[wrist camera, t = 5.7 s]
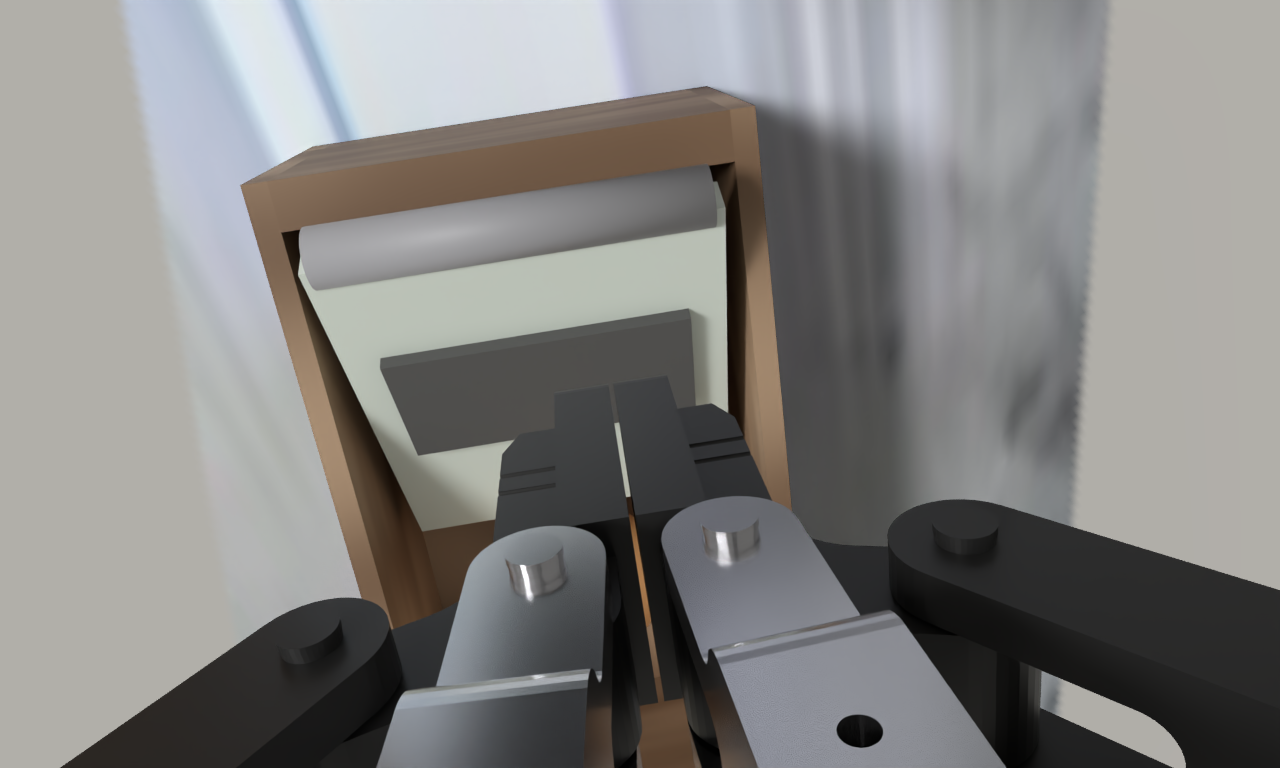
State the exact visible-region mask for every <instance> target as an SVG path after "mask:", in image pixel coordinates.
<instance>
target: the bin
mask: <svg viewBox="0 0 1280 768" xmlns="http://www.w3.org/2000/svg"><path fill="white" fill-rule="evenodd" d="M701 164H708V166H709V168H710V171H711V175H712V179H713V182H716V181H717V183H718V186H719V189H720V192H721V195H722V198H723V201H724V204H725V208H726V292H727V376H728V413H729V414H731V415H732V416H734V417H735V419H736V421H737V423H738V425H739V428H740V430H741V432H742V434H743V438H744V439H745V441H746V443H747V445H748V448H749V450H750V454H751V455H752V457H753V459H754V461H755V463H756V465H757V468H758V470H759V472H760V474H761V477H762V479H763V481H764V483H765V486H766V488H767V490H768V492H769V494H770V497H771V499H772V501H774V502H777V503H779V504H781V505H783V506H785V507H787V508H788V509H789V510H791V511H792V506H791V495H790V484H789V473H788V462H787V451H786V440H785V429H784V418H783V407H782V396H781V385H780V374H779V363H778V352H777V341H776V330H775V319H774V308H773V297H772V286H771V275H770V264H769V253H768V242H767V231H766V220H765V209H764V198H763V187H762V176H761V165H760V154H759V143H758V132H757V121H756V110H755V106H754V105H752V104H749V103H747V102H744V101H742V100H739V99H737V98H734V97H732V96H729V95H727V94H724V93H722V92H720V91H717V90H715V89H712V88H710V87H707V86H705V87H699V88H692V89H685V90H679V91H672V92H666V93H659V94H653V95H646V96H640V97H633V98H627V99H620V100H614V101H607V102H601V103H594V104H588V105H581V106H575V107H568V108H562V109H555V110H549V111H542V112H536V113H529V114H523V115H516V116H509V117H503V118H496V119H490V120H483V121H477V122H470V123H464V124H457V125H451V126H444V127H438V128H431V129H425V130H418V131H412V132H405V133H399V134H392V135H386V136H379V137H373V138H366V139H360V140H353V141H347V142H340V143H333V144H327V145H320V146H314V147H311V148H309V149H307V150H306V151H304V152H302V153H300V154H298V155H296V156H294V157H292V158H291V159H289V160H287V161H285V162H283V163H281V164H279V165H278V166H276V167H274V168H272V169H270V170H268V171H266V172H264V173H263V174H261V175H259V176H257V177H255V178H253V179H251V180H249V181H248V182H246V183H244V184H242V185H240V186H241V189H242V193H243V196H244V199H245V203H246V206H247V210H248V213H249V216H250V220H251V223H252V227H253V230H254V233H255V237H256V240H257V244H258V247H259V250H260V254H261V257H262V261H263V264H264V267H265V271H266V274H267V278H268V281H269V284H270V288H271V291H272V295H273V298H274V301H275V305H276V308H277V312H278V315H279V318H280V322H281V325H282V329H283V332H284V335H285V339H286V342H287V346H288V349H289V353H290V356H291V359H292V363H293V366H294V370H295V373H296V376H297V380H298V383H299V387H300V390H301V393H302V397H303V400H304V404H305V407H306V410H307V414H308V417H309V421H310V424H311V427H312V431H313V434H314V438H315V441H316V444H317V448H318V451H319V455H320V458H321V461H322V465H323V468H324V472H325V475H326V478H327V482H328V485H329V489H330V492H331V495H332V499H333V502H334V506H335V509H336V512H337V516H338V519H339V523H340V526H341V529H342V533H343V536H344V540H345V543H346V546H347V550H348V553H349V557H350V560H351V563H352V567H353V570H354V574H355V577H356V580H357V584H358V587H359V591H360V594H361V597H362V599H364V600H368V601H371V602H373V603H375V604H377V605H379V606H380V607H381V608H382V609H383V610H384V611H385V613H386V614H387V616H388V620H389V623H390V627H391V630H392V629H395V628H398V627H400V626H403V625H406V624H408V623H411V622H414V621H416V620H419V619H422V618H425V617H427V616H430V615H432V614H435V613H437V612H439V611H442V610H443V609H445V608H447V607H449V606H451V605H453V604H455V603H456V602H458V601H459V600H460V596H461V592H462V589H463V585H464V581H465V578H466V574H467V571H468V568H469V566H470V564H471V563H472V561H473V560H474V558H475V557H476V556H477V555H478V554H479V553H480V552H481V551H483V550H484V549H485V548H487V547H488V546H489V545H491V544H493V537H494V528H495V519H494V520H488V521H482V522H476V523H470V524H464V525H458V526H452V527H446V528H440V529H434V530H428V531H422V530H421V528H420V526H419V524H418V522H417V520H416V518H415V516H414V513H413V511H412V509H411V507H410V505H409V503H408V501H407V499H406V497H405V495H404V493H403V491H402V489H401V487H400V485H399V482H398V480H397V478H396V476H395V474H394V472H393V470H392V468H391V466H390V464H389V462H388V460H387V458H386V456H385V454H384V452H383V449H382V447H381V445H380V443H379V441H378V439H377V437H376V435H375V433H374V431H373V429H372V427H371V425H370V423H369V421H368V418H367V416H366V414H365V412H364V410H363V408H362V406H361V404H360V402H359V400H358V398H357V396H356V394H355V392H354V390H353V387H352V385H351V383H350V381H349V379H348V377H347V375H346V373H345V371H344V369H343V367H342V365H341V363H340V361H339V359H338V357H337V354H336V352H335V350H334V348H333V346H332V344H331V342H330V340H329V338H328V336H327V334H326V332H325V330H324V328H323V326H322V323H321V321H320V319H319V317H318V315H317V313H316V311H315V309H314V307H313V305H312V303H311V301H310V299H309V297H308V295H307V292H306V290H305V288H304V286H303V284H302V282H301V280H300V278H299V276H298V271H299V264H300V249H299V233H300V229H301V228H302V227H305V226H311V225H317V224H324V223H330V222H337V221H343V220H349V219H356V218H362V217H369V216H375V215H381V214H388V213H394V212H401V211H407V210H413V209H420V208H426V207H433V206H439V205H445V204H452V203H458V202H465V201H471V200H477V199H484V198H490V197H497V196H503V195H509V194H516V193H522V192H528V191H535V190H541V189H548V188H554V187H560V186H567V185H573V184H580V183H586V182H592V181H599V180H605V179H612V178H618V177H624V176H631V175H637V174H644V173H650V172H656V171H663V170H669V169H676V168H682V167H688V166H695V165H701ZM626 500H627V506H628V512H629V514H631V515H632V516H633V517H634V514H633V508H632V502H631V496H630V497H626ZM647 634H648V640H649V647H650V653H651V659H652V666H653V672H654V678H655V685H656V691H657V698H658V703H654V704H648V705H642V706H640V713H641V720H642V734H641V739H640V742H639V748H640V754H641V759H642V766H643V768H696V767H695V764H694V760H693V755H692V748H691V741H690V735H689V728H688V721H687V715H686V710H685V705H684V699H683V698H682V699H676V700H670V701H664V696H663V690H662V684H661V678H660V672H659V666H658V660H657V654H656V648H655V642H654V636H653V630H652V623H650V625H649V626H648V627H647Z"/></svg>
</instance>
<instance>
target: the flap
mask: <svg viewBox="0 0 1280 768" xmlns="http://www.w3.org/2000/svg"><path fill="white" fill-rule="evenodd" d="M299 249H300V264H299V271H298V276H299V278H300V280H301V282H302V284H303V286H304V288H305V290H306V292H307V295H308V297H309V299H310V301H311V303H312V305H313V307H314V309H315V311H316V313H317V315H318V317H319V319H320V321H321V323H322V326H323V328H324V330H325V332H326V334H327V336H328V338H329V340H330V342H331V344H332V346H333V348H334V350H335V352H336V354H337V357H338V359H339V361H340V363H341V365H342V367H343V369H344V371H345V373H346V375H347V377H348V379H349V381H350V383H351V385H352V387H353V390H354V392H355V394H356V396H357V398H358V400H359V402H360V404H361V406H362V408H363V410H364V412H365V414H366V416H367V418H368V421H369V423H370V425H371V427H372V429H373V431H374V433H375V435H376V437H377V439H378V441H379V443H380V445H381V447H382V449H383V452H384V454H385V456H386V458H387V460H388V462H389V464H390V466H391V468H392V470H393V472H394V474H395V476H396V478H397V480H398V482H399V485H400V487H401V489H402V491H403V493H404V495H405V497H406V499H407V501H408V503H409V505H410V507H411V509H412V511H413V513H414V516H415V518H416V520H417V522H418V524H419V526H420V528H421V530H422V531H428V530H434V529H440V528H446V527H452V526H458V525H464V524H470V523H476V522H482V521H488V520H494V519H495V518H496V508H497V498H498V496H499V494H498V489H499V479H500V469H501V460H502V454H503V453H504V451H505V450H506V449H507V448H508V447H509V446H510V445H511V443H512V442H513V441H514V440H515V439H516V438H517V437H518V435H519V434H523V433H529V432H535V431H541V430H548V429H554V428H555V413H554V392H559V391H565V390H572V389H578V388H584V387H591V386H597V385H603V384H608V386H609V393H610V399H611V405H612V411H613V418H614V424H615V430H616V437H617V443H618V449H619V456H620V462H621V468H622V475H623V481H624V487H625V493H626V497H630V496H631V495H630V489H629V483H628V476H627V470H626V463H625V457H624V451H623V444H622V438H621V432H620V425H619V419H618V412H617V406H616V400H615V393H614V386H613V383H615V382H621V381H628V380H634V379H640V378H647V377H653V376H659V375H667V377H668V380H669V383H670V386H671V390H672V393H673V396H674V399H675V402H676V405H677V409H679V408H685V407H691V406H697V405H704V404H710V403H712V404H714V405H716V406H717V407H719V408H721V409H722V410H724V411H726V412H727V413H728V376H727V292H726V208H725V204H724V201H723V198H722V195H721V192H720V189H719V186H718V183H717V181H716V182H713V179H712V175H711V171H710V168H709V166H708V164H701V165H695V166H688V167H682V168H676V169H669V170H663V171H656V172H650V173H644V174H637V175H631V176H624V177H618V178H612V179H605V180H599V181H592V182H586V183H580V184H573V185H567V186H560V187H554V188H548V189H541V190H535V191H528V192H522V193H516V194H509V195H503V196H497V197H490V198H484V199H477V200H471V201H465V202H458V203H452V204H445V205H439V206H433V207H426V208H420V209H413V210H407V211H401V212H394V213H388V214H381V215H375V216H369V217H362V218H356V219H349V220H343V221H337V222H330V223H324V224H317V225H311V226H305V227H302V228H301V229H300V233H299Z"/></svg>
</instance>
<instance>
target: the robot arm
mask: <svg viewBox="0 0 1280 768" xmlns="http://www.w3.org/2000/svg"><path fill="white" fill-rule="evenodd" d="M613 386H614V393H615V400H616V406H617V412H618V419H619V425H620V432H621V438H622V444H623V451H624V457H625V463H626V470H627V476H628V483H629V489H630V495H631V502H632V508H633V514H634V521H635V527H636V533H637V539H638V545H639V551H640V557H641V563H642V569H643V575H644V581H645V587H646V593H647V599H648V605H649V611H650V617H651V623H652V630H653V636H654V642H655V648H656V654H657V660H658V666H659V672H660V678H661V684H662V690H663V696H664V701H670V700H676V699H682V698H683V699H684V705H685V710H686V715H687V721H688V728H689V735H690V741H691V748H692V755H693V760H694V764H695V767H696V768H1172V767H1170V766H1168V765H1165V764H1163V763H1161V762H1159V761H1157V760H1154V759H1152V758H1150V757H1148V756H1146V755H1143V754H1141V753H1139V752H1137V751H1135V750H1132V749H1130V748H1128V747H1126V746H1124V745H1121V744H1119V743H1117V742H1115V741H1112V740H1110V739H1108V738H1106V737H1104V736H1101V735H1099V734H1097V733H1095V732H1092V731H1090V730H1088V729H1086V728H1084V727H1081V726H1079V725H1076V724H1075V723H1072V722H1070V721H1068V720H1066V719H1064V718H1061V717H1059V716H1057V715H1055V714H1053V713H1050V712H1048V711H1046V710H1044V709H1041V708H1040V697H1041V671H1044V672H1046V673H1049V674H1051V675H1053V676H1056V677H1058V678H1061V679H1063V680H1065V681H1068V682H1070V683H1072V684H1075V685H1078V686H1080V687H1082V688H1084V689H1087V690H1089V691H1092V692H1094V693H1096V694H1099V695H1101V696H1104V697H1106V698H1108V699H1110V700H1113V701H1115V702H1117V703H1120V704H1122V705H1125V706H1127V707H1129V708H1132V709H1134V710H1136V711H1139V712H1141V713H1143V714H1145V715H1147V716H1149V717H1150V718H1152V719H1153V720H1155V721H1156V722H1158V723H1159V724H1160V725H1161V726H1163V727H1164V728H1165V729H1166V730H1167V731H1168V732H1169V733H1170V734H1171V735H1172V737H1173V738H1174V739H1175V740H1176V742H1177V743H1178V745H1179V747H1180V748H1181V750H1182V753H1183V755H1184V758H1185V762H1186V768H1280V590H1277V589H1274V588H1271V587H1267V586H1264V585H1261V584H1258V583H1254V582H1251V581H1248V580H1244V579H1241V578H1238V577H1235V576H1231V575H1228V574H1225V573H1221V572H1218V571H1215V570H1212V569H1208V568H1205V567H1202V566H1199V565H1195V564H1192V563H1189V562H1185V561H1182V560H1179V559H1175V558H1172V557H1169V556H1166V555H1162V554H1159V553H1156V552H1153V551H1149V550H1146V549H1142V548H1139V547H1136V546H1133V545H1130V544H1126V543H1123V542H1120V541H1117V540H1113V539H1110V538H1107V537H1103V536H1100V535H1097V534H1094V533H1090V532H1087V531H1083V530H1080V529H1077V528H1074V527H1071V526H1067V525H1064V524H1061V523H1057V522H1054V521H1051V520H1048V519H1044V518H1041V517H1038V516H1034V515H1031V514H1028V513H1025V512H1021V511H1018V510H1015V509H1012V508H1008V507H1005V506H1002V505H998V504H994V503H990V502H984V501H977V500H942V501H936V502H930V503H926V504H923V505H919V506H916V507H914V508H912V509H910V510H907V511H906V512H904V513H903V514H901V515H900V516H899V517H898V518H896V519H895V520H894V521H893V523H892V525H891V526H890V528H889V531H888V547H881V546H851V545H839V544H832V543H826V542H823V541H819V540H815V539H812V538H810V536H809V535H808V533H807V532H806V530H805V528H804V527H803V525H802V524H801V522H800V521H799V519H798V518H797V516H796V515H795V514H794V513H793V512H792V511H791V510H789V509H788V508H787V507H785V506H783V505H781V504H779V503H777V502H774V501H772V499H771V497H770V494H769V492H768V490H767V488H766V486H765V483H764V481H763V479H762V477H761V474H760V472H759V470H758V468H757V465H756V463H755V461H754V459H753V457H752V455H751V454H750V450H749V448H748V445H747V443H746V441H745V439H744V438H743V434H742V432H741V430H740V428H739V425H738V423H737V421H736V419H735V417H734V416H732V415H731V414H729V413H727V412H726V411H724V410H722V409H721V408H719V407H717V406H716V405H714V404H712V403H710V404H704V405H697V406H691V407H685V408H679V409H677V405H676V402H675V399H674V396H673V393H672V390H671V386H670V383H669V380H668V377H667V375H659V376H653V377H647V378H640V379H634V380H628V381H621V382H615V383H613ZM554 413H555V428H554V429H548V430H541V431H535V432H529V433H523V434H519V435H518V437H517V438H516V439H515V440H514V441H513V442H512V443H511V445H510V446H509V447H508V448H507V449H506V450H505V451H504V453H503V454H502V460H501V469H500V479H499V489H498V494H499V496H498V498H497V508H496V518H495V528H494V537H493V544H491V545H489V546H488V547H487V548H485V549H484V550H483V551H481V552H480V553H479V554H478V555H477V556H476V557H475V558H474V560H473V561H472V563H471V564H470V566H469V568H468V571H467V574H466V578H465V581H464V585H463V589H462V592H461V596H460V600H459V601H458V602H456V603H455V604H453V605H451V606H449V607H447V608H445V609H443V610H442V611H439V612H437V613H435V614H432V615H430V616H427V617H425V618H422V619H419V620H416V621H414V622H411V623H408V624H406V625H403V626H400V627H398V628H395V629H392V630H391V627H390V623H389V620H388V616H387V614H386V613H385V611H384V610H383V609H382V608H381V607H380V606H379V605H377V604H375V603H373V602H371V601H368V600H364V599H359V598H334V599H327V600H322V601H318V602H314V603H310V604H307V605H304V606H301V607H299V608H296V609H294V610H291V611H289V612H287V613H285V614H283V615H281V616H279V617H277V618H275V619H274V620H272V621H271V622H269V623H267V624H266V625H264V626H263V627H261V628H260V629H259V630H257V631H256V632H254V633H253V634H251V635H250V636H249V637H247V638H246V639H244V640H243V641H241V642H240V643H239V644H237V645H236V646H234V647H233V648H231V649H230V650H229V651H227V652H226V653H224V654H223V655H221V656H220V657H218V658H217V659H216V660H214V661H213V662H211V663H210V664H208V665H207V666H206V667H204V668H203V669H201V670H200V671H198V672H197V673H195V674H194V675H193V676H191V677H190V678H188V679H187V680H186V681H184V682H183V683H181V684H180V685H178V686H177V687H175V688H174V689H173V690H171V691H170V692H169V693H167V694H165V695H164V696H162V697H161V698H160V699H158V700H157V701H155V702H154V703H152V704H151V705H150V706H148V707H147V708H145V709H144V710H142V711H141V712H140V713H138V714H137V715H135V716H134V717H132V718H131V719H129V720H128V721H127V722H125V723H124V724H122V725H121V726H119V727H118V728H117V729H115V730H114V731H112V732H111V733H109V734H108V735H107V736H105V737H104V738H102V739H101V740H100V741H98V742H97V743H95V744H94V745H92V746H91V747H89V748H88V749H86V750H85V751H84V752H82V753H81V754H79V755H78V756H76V757H75V758H74V759H72V760H71V761H69V762H68V763H66V764H65V765H63V766H62V767H61V768H643V766H642V759H641V754H640V748H639V742H640V739H641V734H642V720H641V713H640V706H642V705H648V704H654V703H658V698H657V691H656V685H655V678H654V672H653V666H652V659H651V653H650V647H649V640H648V634H647V627H646V621H645V615H644V608H643V602H642V595H641V589H640V583H639V576H638V570H637V563H636V557H635V551H634V544H633V538H632V531H631V525H630V519H629V512H628V506H627V500H626V493H625V487H624V481H623V475H622V468H621V462H620V456H619V449H618V443H617V437H616V430H615V424H614V418H613V411H612V405H611V399H610V393H609V386H608V384H603V385H597V386H591V387H584V388H578V389H572V390H565V391H559V392H554Z"/></svg>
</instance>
